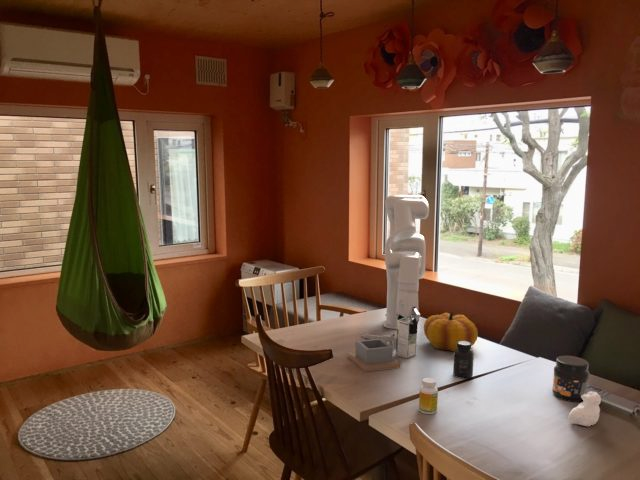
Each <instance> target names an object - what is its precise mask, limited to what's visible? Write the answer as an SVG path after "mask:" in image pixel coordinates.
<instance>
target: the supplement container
mask: <svg viewBox="0 0 640 480" xmlns="http://www.w3.org/2000/svg"><path fill="white" fill-rule="evenodd" d="M555 360H556V361H555V366H554V367H553V383H552V393H553V394H554V395H555V396H556V397H557V396H558V397H557V398H559V397H560V398H559V399H561V398H562V400H564V399H565V400H564V401H567V400H570V401H569V402H575V401H577V402H581V401H580V400H583V399H582V398H581V395H583V394H586V393H588V392H589V391H588V390H589V379H590V378H589V377H590V371H589V366H590V365H589V362H588V361H587V360H586V359H584V358H581V357H577V356H574V355H560V356H557V357H556V359H555Z"/></svg>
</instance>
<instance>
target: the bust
mask: <svg viewBox="0 0 640 480" xmlns="http://www.w3.org/2000/svg"><path fill="white" fill-rule="evenodd" d="M581 398H582V399H583V401H581V402H580V403H578V405H577V406H576V407H573V408H572V409H571V410H570V412H569V414H568V416H567V417H568V419H567V420H568V423H569V424H571V425H580V426H583V427H592V426H593V425H595V424H597V422H598V421H599V418H600V411H601V408H600V406H599V405H600V404H601V401H602V398H601V395H600V394H599V393H598V392H597V391H594V390H592V391H588V392H587V394H583V395H581ZM591 425H592V426H591Z"/></svg>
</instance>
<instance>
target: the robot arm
mask: <svg viewBox="0 0 640 480" xmlns="http://www.w3.org/2000/svg"><path fill="white" fill-rule="evenodd" d="M384 207H385V211H386V214H387V217H388V220H389V236H388V238H387V240H386V242H385V245H384V263H385V270H386V281H387V284H386V285H387V288H386V289H387V290H386V291H387V292H386V313H385V318H386V319H385V320H383V321H382V326H383V327H384V328H387V329H391V330H397V320H398V319H402V318H408V317H409V320H410V323H411V324H409V334H417V335H418V326H419V325H418V324H419V321H420V318H421V313H420V312H419V293H418V292H419V283H420V281H419V280H420V279H423V278H424V277H425V275H426V255H427V254H426V253H427V252H426V249H427V248H426V247H427V246H426V239H425V236H424V235H422V234H419V233H416V231H417V230H416V229H417V227H416V220H426V219H427V218H428V217H429V215H430V205H429V202H428V200H427V198H425V196H423V195H421V194H420V195H419V194H418V195H417V194H416V195H415V194H413V195H412V194H411V195H410V194H393V195H389V196H387V197H386V198H385V203H384ZM412 318H413V321H412Z"/></svg>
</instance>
